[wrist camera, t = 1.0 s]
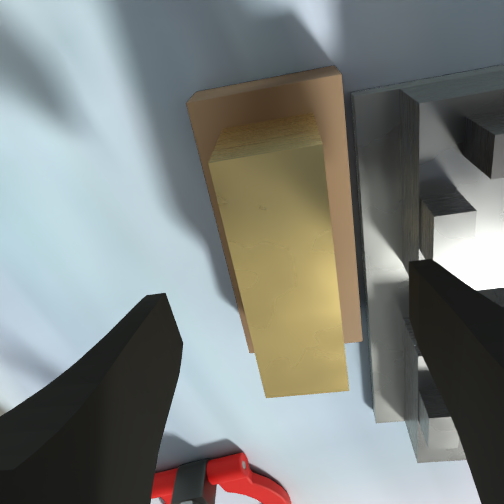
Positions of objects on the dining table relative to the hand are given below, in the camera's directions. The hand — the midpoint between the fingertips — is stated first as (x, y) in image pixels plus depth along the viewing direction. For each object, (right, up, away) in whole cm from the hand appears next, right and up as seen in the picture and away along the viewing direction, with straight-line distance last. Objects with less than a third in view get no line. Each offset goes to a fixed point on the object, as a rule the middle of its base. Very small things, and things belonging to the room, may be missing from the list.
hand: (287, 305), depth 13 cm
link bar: (0, +2, +4) cm, 4 cm away
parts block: (0, +3, +5) cm, 6 cm away
